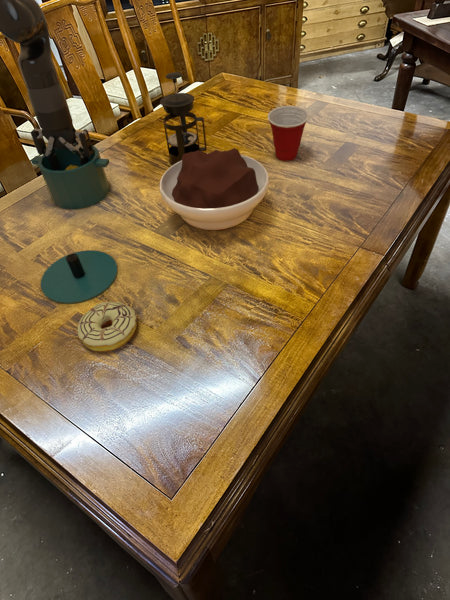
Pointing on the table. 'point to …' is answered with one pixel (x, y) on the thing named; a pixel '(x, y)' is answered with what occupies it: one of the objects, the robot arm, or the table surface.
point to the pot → (75, 179)
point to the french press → (180, 108)
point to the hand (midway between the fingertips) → (72, 170)
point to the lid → (79, 277)
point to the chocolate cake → (214, 188)
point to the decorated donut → (109, 337)
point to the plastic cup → (287, 130)
